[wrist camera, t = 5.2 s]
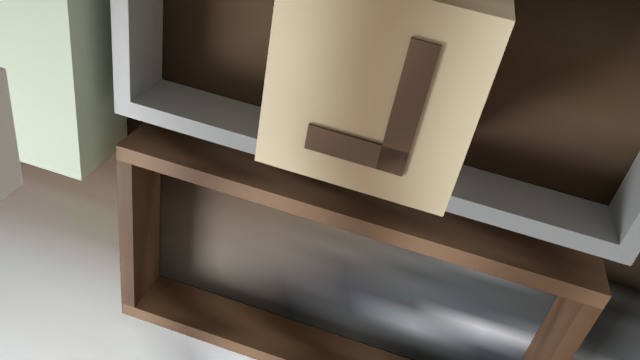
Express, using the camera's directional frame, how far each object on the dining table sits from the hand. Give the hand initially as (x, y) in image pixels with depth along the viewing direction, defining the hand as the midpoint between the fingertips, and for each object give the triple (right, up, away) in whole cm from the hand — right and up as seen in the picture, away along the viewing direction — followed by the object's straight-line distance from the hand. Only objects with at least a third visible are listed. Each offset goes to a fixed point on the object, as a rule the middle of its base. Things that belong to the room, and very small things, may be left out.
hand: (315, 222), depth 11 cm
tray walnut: (+1, -3, +16) cm, 17 cm away
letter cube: (+3, +6, +10) cm, 12 cm away
